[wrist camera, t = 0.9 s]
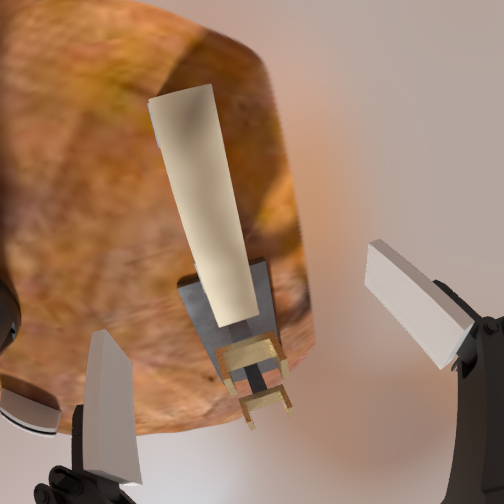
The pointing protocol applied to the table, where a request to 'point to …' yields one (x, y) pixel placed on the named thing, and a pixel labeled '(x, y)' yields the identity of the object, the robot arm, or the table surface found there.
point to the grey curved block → (29, 414)
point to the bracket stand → (242, 342)
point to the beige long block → (205, 198)
